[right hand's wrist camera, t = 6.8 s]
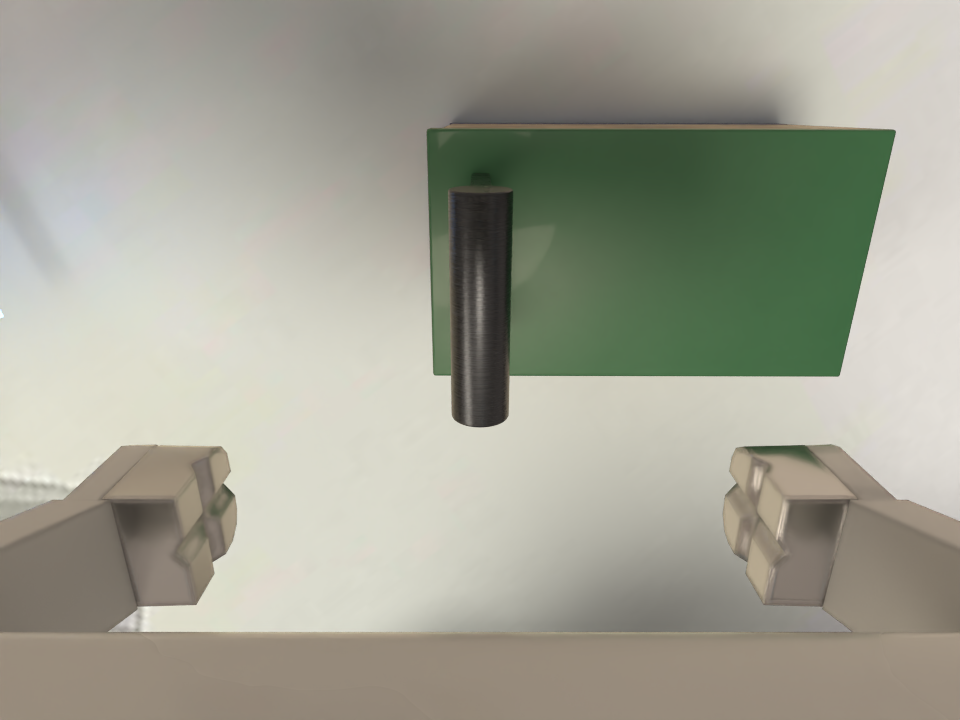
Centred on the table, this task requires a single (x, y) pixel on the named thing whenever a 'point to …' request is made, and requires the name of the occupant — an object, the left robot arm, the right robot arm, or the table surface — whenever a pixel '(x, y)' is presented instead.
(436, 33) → the table surface
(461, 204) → the lid
